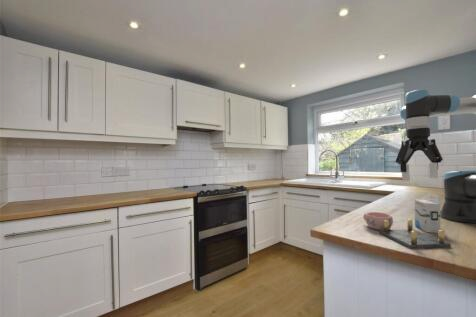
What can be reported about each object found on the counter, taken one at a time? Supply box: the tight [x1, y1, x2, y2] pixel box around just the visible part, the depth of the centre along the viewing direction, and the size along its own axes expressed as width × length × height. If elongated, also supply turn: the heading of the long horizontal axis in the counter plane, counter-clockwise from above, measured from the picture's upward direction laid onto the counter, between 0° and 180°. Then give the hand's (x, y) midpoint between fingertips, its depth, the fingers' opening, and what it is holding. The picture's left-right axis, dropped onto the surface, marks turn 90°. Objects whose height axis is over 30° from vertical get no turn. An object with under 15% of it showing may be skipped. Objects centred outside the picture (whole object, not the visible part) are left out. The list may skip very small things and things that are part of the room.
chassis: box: [378, 219, 452, 249], centre depth 81 cm, size 14×15×5 cm
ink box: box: [414, 192, 441, 234], centre depth 92 cm, size 9×5×15 cm, turn 168°
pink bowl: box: [362, 211, 394, 231], centre depth 95 cm, size 12×10×6 cm
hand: (420, 179), depth 91 cm, fingers open, 13 cm apart
